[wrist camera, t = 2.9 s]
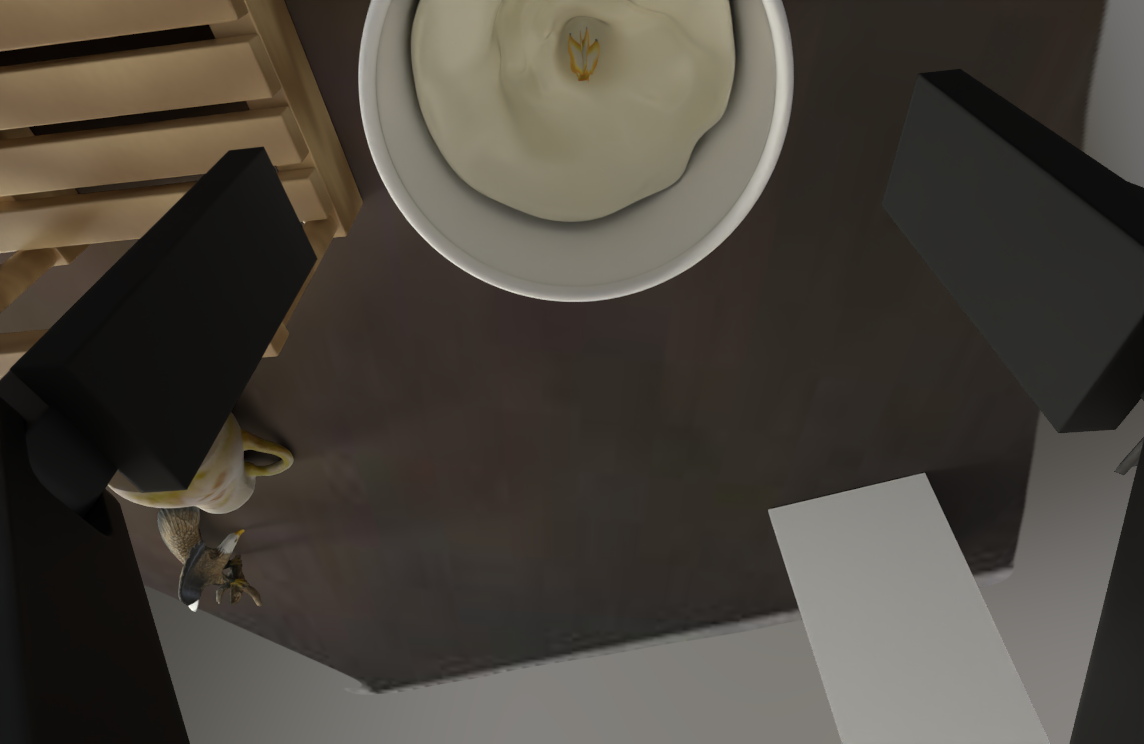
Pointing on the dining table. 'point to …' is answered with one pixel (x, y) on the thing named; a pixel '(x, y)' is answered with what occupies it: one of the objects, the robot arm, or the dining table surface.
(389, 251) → the dining table surface
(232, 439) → the mug
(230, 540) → the eagle figurine
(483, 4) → the candle holder
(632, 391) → the dining table surface
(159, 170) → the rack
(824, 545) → the milk
